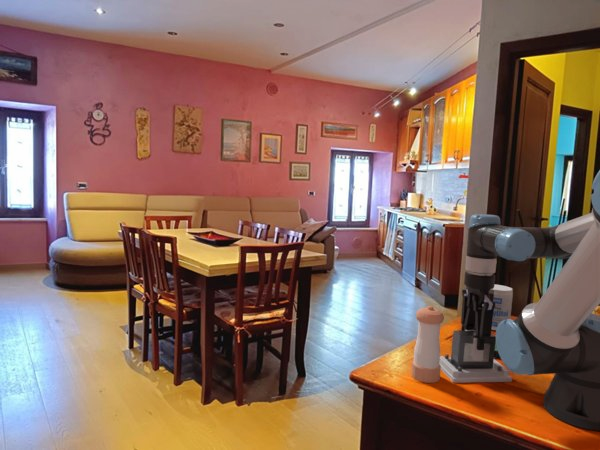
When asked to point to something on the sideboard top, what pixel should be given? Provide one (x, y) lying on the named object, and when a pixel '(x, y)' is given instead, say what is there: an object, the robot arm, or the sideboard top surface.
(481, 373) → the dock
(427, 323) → the salt shaker
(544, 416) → the sideboard top surface
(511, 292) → the supplement tub
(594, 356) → the robot arm
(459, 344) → the grey plastic case
